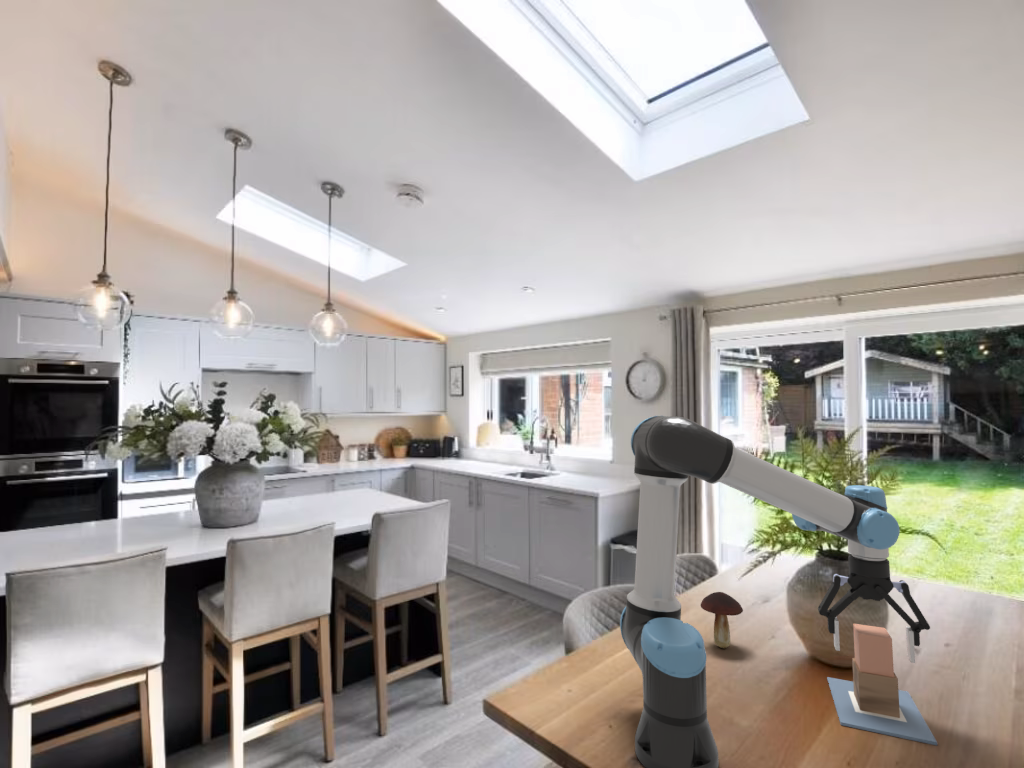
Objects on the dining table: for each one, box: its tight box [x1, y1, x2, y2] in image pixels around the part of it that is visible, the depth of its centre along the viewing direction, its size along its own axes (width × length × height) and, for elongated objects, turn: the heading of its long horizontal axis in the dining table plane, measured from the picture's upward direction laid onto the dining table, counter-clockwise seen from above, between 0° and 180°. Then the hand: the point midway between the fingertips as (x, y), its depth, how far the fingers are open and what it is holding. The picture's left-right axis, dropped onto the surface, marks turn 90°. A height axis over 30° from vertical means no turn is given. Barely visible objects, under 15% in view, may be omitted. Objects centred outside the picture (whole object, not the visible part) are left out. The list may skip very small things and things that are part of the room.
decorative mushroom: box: [700, 591, 744, 649], centre depth 141 cm, size 11×11×15 cm
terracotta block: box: [852, 623, 895, 677], centre depth 112 cm, size 6×6×8 cm
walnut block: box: [851, 657, 900, 718], centre depth 111 cm, size 7×7×8 cm
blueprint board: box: [826, 676, 938, 746], centre depth 111 cm, size 20×16×1 cm
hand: (873, 654), depth 112 cm, fingers open, 13 cm apart
